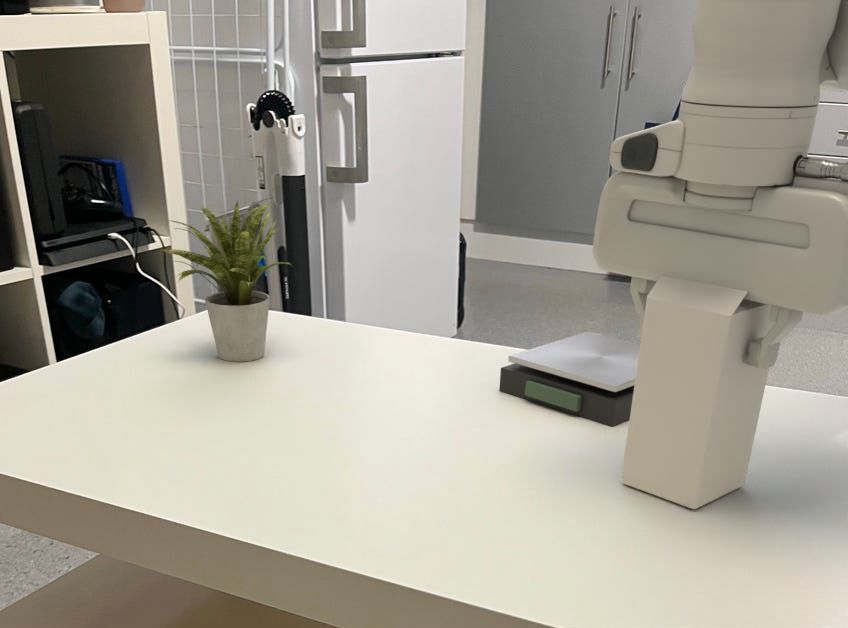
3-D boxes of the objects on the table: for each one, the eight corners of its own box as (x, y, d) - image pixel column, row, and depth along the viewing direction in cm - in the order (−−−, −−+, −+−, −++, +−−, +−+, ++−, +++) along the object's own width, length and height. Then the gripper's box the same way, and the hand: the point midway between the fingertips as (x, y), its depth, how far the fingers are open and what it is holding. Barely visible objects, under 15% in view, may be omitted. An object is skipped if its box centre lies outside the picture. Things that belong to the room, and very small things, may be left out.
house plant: (215, 329, 123) (203, 182, 114) (321, 339, 119) (317, 188, 110) (156, 363, 111) (137, 203, 102) (271, 376, 107) (262, 210, 98)
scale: (584, 362, 111) (586, 340, 110) (695, 393, 102) (699, 369, 101) (495, 392, 103) (496, 368, 101) (608, 428, 94) (611, 403, 93)
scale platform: (587, 336, 109) (588, 330, 108) (693, 363, 101) (694, 357, 100) (508, 361, 101) (508, 355, 101) (615, 392, 93) (616, 386, 93)
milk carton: (694, 512, 78) (742, 255, 68) (619, 484, 83) (654, 239, 73) (744, 487, 82) (796, 241, 72) (670, 462, 87) (709, 227, 77)
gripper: (912, 161, 65) (855, 374, 72) (643, 134, 78) (618, 318, 85) (867, 170, 61) (812, 393, 68) (592, 140, 74) (571, 331, 81)
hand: (703, 351), depth 77 cm, fingers open, 8 cm apart
